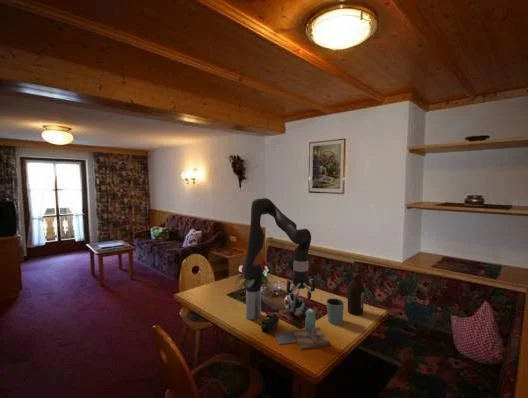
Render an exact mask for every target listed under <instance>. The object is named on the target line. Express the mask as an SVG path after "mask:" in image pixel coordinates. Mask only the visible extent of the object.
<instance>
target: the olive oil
mask: <svg viewBox="0 0 528 398" xmlns="http://www.w3.org/2000/svg"><path fill="white" fill-rule="evenodd" d="M365 289H366V288H365V286H364V284H363V283H362V282H361V281H360V274H359V273H356V272H354V273H353V277H352V280H351V281H349V283H348V284H347V288H346V291H347V292H346V294H347V313H348V314H350V315H353V316H362V315H363V313H364V305H365V304H364V303H365V292H366V291H365Z"/></svg>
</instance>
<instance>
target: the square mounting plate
mask: <svg viewBox="0 0 528 398" xmlns="http://www.w3.org/2000/svg"><path fill="white" fill-rule="evenodd" d="M311 329H312V332H309V331H307V330H306V318H305V320H304V328H302V329H301V328H300V329H299V328H298V329H292V330H291V331H292V333H293V335H294V336H295V338H296V340H297V343H296V344H298V346H299V349H300V350H308V349H315V348H325V347H332V342H330V340H329V339H328V338H327V337H326V335H325V334H324V332H323V330H321V328H320V327H319V326H318V327H316V326H315V327H311Z"/></svg>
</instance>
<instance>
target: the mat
mask: <svg viewBox="0 0 528 398" xmlns="http://www.w3.org/2000/svg"><path fill="white" fill-rule="evenodd" d="M273 335H274V337H275V340H276V341H277V344H278V345H279V346H280V345H289V344H298V343H297V340H296V338H295V336H294V335H293V333H292V330H291V331H284V332H274V333H273Z"/></svg>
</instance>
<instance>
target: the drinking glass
mask: <svg viewBox="0 0 528 398" xmlns="http://www.w3.org/2000/svg"><path fill="white" fill-rule="evenodd" d="M325 303H326V311H327V312H326V313H327V322H328V323H329V324H331V325H335V326H339V325H342V324H343V322H344V306H345V302H344V301H343V300H342V299H340V298H335V297H334V298H333V297H332V298H328V299H326V302H325Z"/></svg>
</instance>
